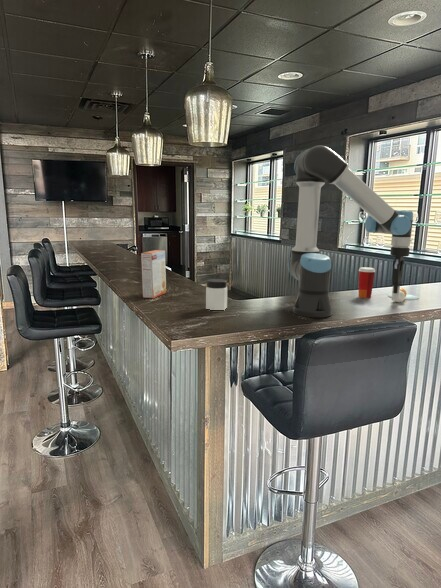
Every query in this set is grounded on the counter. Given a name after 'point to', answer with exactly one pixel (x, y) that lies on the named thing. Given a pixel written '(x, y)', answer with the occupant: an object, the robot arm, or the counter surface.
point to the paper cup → (366, 281)
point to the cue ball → (401, 297)
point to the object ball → (403, 291)
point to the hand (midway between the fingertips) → (395, 300)
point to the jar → (216, 294)
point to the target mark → (408, 297)
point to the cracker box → (153, 273)
